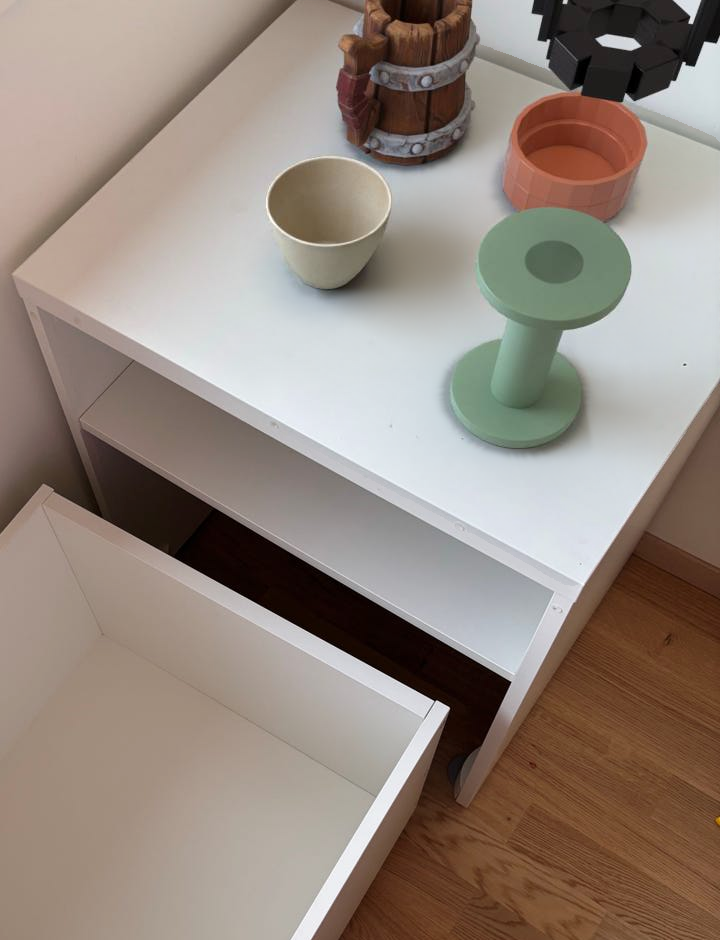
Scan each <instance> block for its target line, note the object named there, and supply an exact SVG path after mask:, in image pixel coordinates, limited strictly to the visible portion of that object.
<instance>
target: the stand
mask: <svg viewBox="0 0 720 940" xmlns="http://www.w3.org/2000/svg"><path fill="white" fill-rule="evenodd" d="M474 272H475V279H476V282H477V286H478V288H479V291H480V293H481V294H482V295H483V297H484V299H485V300H486V301H487V303H488V304H489V305H490V306H491V307H492V308H493V309H494V310H496V311H497V312H498V313H499V314H500V315H502V316H503V317H505V318H506V319H507V320H506V324H505V327H504V330H503V335H502V338H498V339H494V340H490V341H486V342H484V343H482V344H480V345H478V346H476V347H474V348H473V349H471V350H469V352H468V353H466V354H465V355H463V357H462V358H461V359H460V361H459V362H458V363H457V365H456V367H455V368H454V371H453V373H452V378H451V382H450V387H449V400H450V405H451V408H452V411H453V412H454V414H455V417H456V418H457V419H458V421H459V422H460V423H461V425H462V426H463V427H464V428H465V429H466V430H467V431H468V432H470V433H471V434H472V435H474V436H475V437H477V438H478V439H480V440H481V441H484V442H487V443H488V444H491V445H495V446H499V447H502V448H503V447H504V448H510V449H528V448H533V447H538V446H542V445H544V444H548V443H549V442H552V441H553V440H555V439H557V438H558V437H559V436H561V435H562V434H564V433H565V432H566V431H567V430H568V428H570V426H571V425H572V423H573V422H574V420H575V418H576V417H577V413H578V411H579V408H580V406H581V403H582V398H583V397H582V384H581V381H580V377H579V375H578V373H577V371H576V369H575V368H574V366H573V365H572V363H571V362H570V361H569V360H568V359H567V358H566V357H565V356H564V355H563V354H562V353H560V352H558V351H557V350H558V348H559V344H560V342H561V340H562V336H563V333H564V331H571V330H577V329H581V328H584V327H585V328H586V327H587V326H590V325H593V324H595V323H596V322H599V321H601V320H602V319H604V318H605V317H607V316H608V315H610V314H611V313H612V312H613V311H614V310H615V309H616V308H617V307H618V305H620V303H621V301H622V300H623V298H624V297H625V294H626V291H627V289H628V287H629V284H630V281H631V277H632V259H631V255H630V253H629V250H628V247H627V246H626V244H625V242H624V240H623V239H622V238H621V237H620V235H619V234H618V233H617V232H616V231H615V230H614V229H612V227H610V226H609V225H608V224H607V223H605V222H602V221H600V220H598V219H596V218H594V217H592V216H590V215H588V214H585V213H582V212H579V211H575V210H572V209H566V208H557V207H541V208H533V209H528V210H524V211H521V212H519V211H517V212H514V213H512V214H511V215H508V216H506V217H505V218H503V219H501V220H499V221H498V222H497V223H496V224H495V225H493V226H492V227H491V228H490V230H489V231H488V232H487V233H486V234H485V236H484V237H483V239H482V240H481V243H480V245H479V247H478V251H477V256H476V261H475V269H474Z"/></svg>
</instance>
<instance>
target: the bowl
mask: <svg viewBox="0 0 720 940" xmlns="http://www.w3.org/2000/svg"><path fill="white" fill-rule="evenodd" d="M647 138H648V137H647V133H646V128H645V126H644V124H643V123H642V121H641V120H640V119H639V117H638V116H637V115H636V113H634V112H633V111H632V110H630V109H629V108H628V107H627V106H626V105H624V104H622V103H620V102H614V101H608V100H603V99H597V98H591V97H586V96H581V91H566V92H565V91H564V92H559V93H554V94H551V95H545V96H543V97H540V98H539V99H537V100H535V101H533V102H531V103H530V104H528V105H527V106H526V107H525V108H524V109H522V111H521V112H520V113H519V114H518V115H517V116H516V117H515V120H514V122H513V124H512V128H511V131H510V135H509V140H508V144H507V149H506V152H505V153H506V154H505V158H504V163H503V166H502V167H503V168H502V172H501V182H502V183H501V184H502V190H503V192H504V195H505V196H506V198H507V200H508V202H509V203H510V205H511V206H513V208H515V209H516V210H517V212H521V211H524V210H528V209H533V208H541V207H557V208H566V209H572V210H575V211H579V212H582V213H585V214H588V215H590V216H592V217H594V218H596V219H598V220H600V221H602V222H603V223H605V221H607V220H609V219H611V218H612V217H614V216H616V215H617V214H618V213H619V212H620V211H621V210H622V209H623V207H624V206H625V205H626V204H627V203H628V201H629V198H630V196H631V193H632V190H633V188H634V185H635V182H636V179H637V176H638V173H639V171H640V169H641V166H642V163H643V160H644V157H645V154H646V150H647V147H648V139H647Z"/></svg>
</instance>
